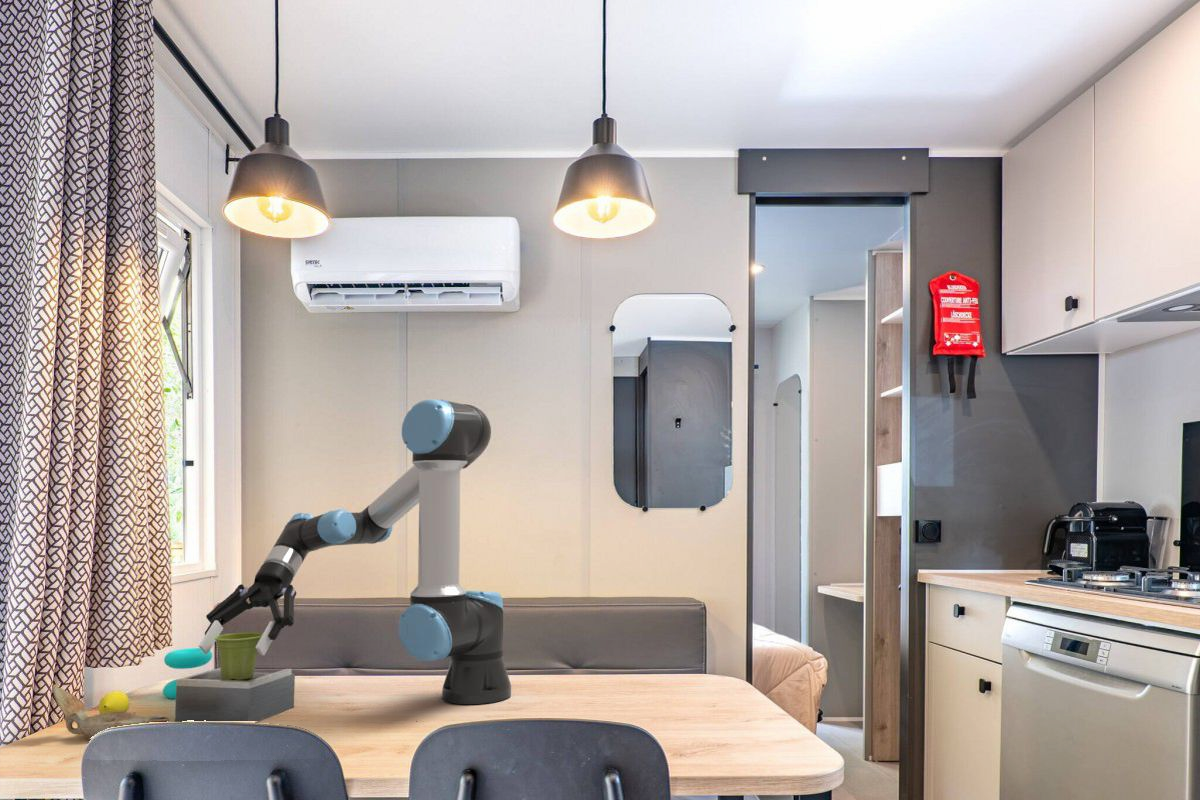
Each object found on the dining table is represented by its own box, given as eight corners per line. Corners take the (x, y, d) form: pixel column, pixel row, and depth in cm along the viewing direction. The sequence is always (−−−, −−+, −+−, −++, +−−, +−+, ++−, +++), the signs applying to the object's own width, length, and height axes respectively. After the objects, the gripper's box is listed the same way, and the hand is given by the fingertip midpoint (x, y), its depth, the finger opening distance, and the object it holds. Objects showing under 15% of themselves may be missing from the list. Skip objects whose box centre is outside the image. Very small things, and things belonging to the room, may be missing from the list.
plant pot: (245, 672, 179) (247, 631, 180) (271, 676, 174) (272, 634, 175) (204, 680, 172) (205, 637, 173) (229, 684, 166) (230, 640, 167)
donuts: (157, 651, 192) (201, 645, 199) (155, 696, 190) (199, 688, 198) (175, 656, 185) (219, 649, 193) (173, 702, 184) (218, 694, 191)
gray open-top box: (293, 707, 177) (294, 667, 178) (248, 725, 162) (249, 682, 163) (213, 703, 182) (215, 665, 183) (162, 721, 167) (164, 679, 168)
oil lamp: (62, 733, 160) (66, 679, 161) (178, 728, 162) (180, 675, 163) (36, 746, 151) (40, 689, 152) (158, 740, 153) (161, 684, 155)
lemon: (108, 717, 174) (111, 690, 175) (134, 716, 174) (137, 689, 175) (89, 721, 167) (92, 692, 168) (116, 720, 167) (119, 692, 168)
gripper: (333, 582, 187) (291, 663, 170) (238, 581, 193) (188, 660, 176) (320, 559, 182) (276, 640, 166) (223, 560, 188) (171, 638, 172)
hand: (231, 650), depth 171 cm, fingers open, 13 cm apart
